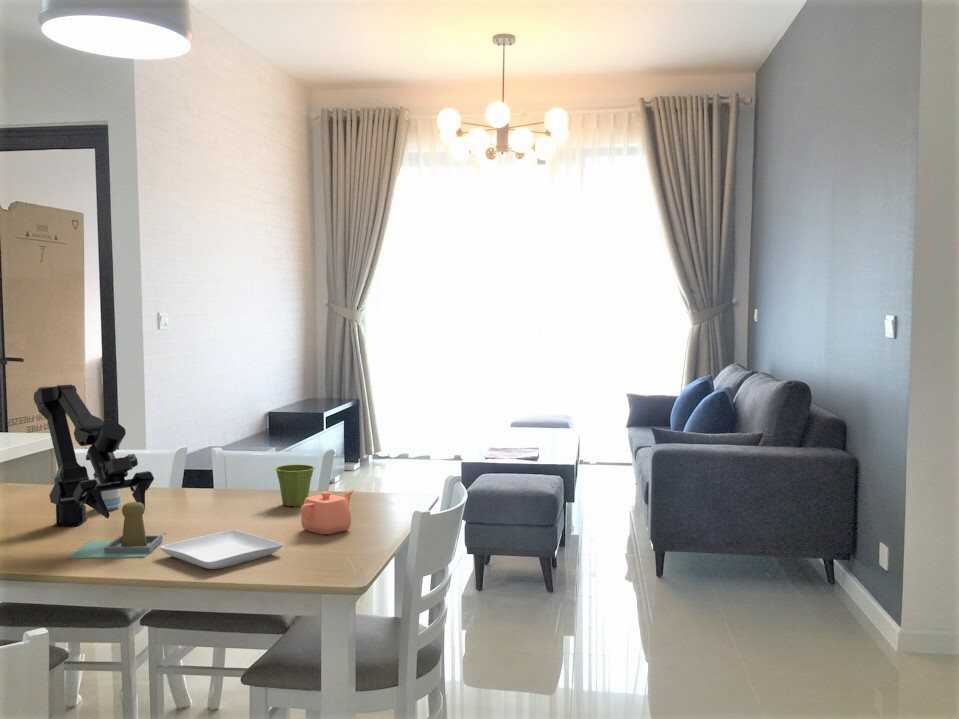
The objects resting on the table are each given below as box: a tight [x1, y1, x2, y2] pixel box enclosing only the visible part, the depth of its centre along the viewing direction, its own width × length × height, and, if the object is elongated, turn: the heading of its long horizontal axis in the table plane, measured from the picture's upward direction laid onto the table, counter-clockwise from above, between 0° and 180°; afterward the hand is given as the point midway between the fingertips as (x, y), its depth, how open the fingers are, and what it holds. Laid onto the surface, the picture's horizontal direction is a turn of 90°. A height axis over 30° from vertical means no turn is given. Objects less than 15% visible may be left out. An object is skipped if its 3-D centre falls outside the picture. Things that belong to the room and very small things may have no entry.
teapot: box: [299, 489, 355, 536], centre depth 230 cm, size 12×18×10 cm, turn 139°
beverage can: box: [93, 477, 121, 511], centre depth 251 cm, size 7×7×12 cm
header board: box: [66, 534, 164, 559], centre depth 210 cm, size 18×14×2 cm
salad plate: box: [159, 529, 284, 570], centre depth 205 cm, size 21×21×3 cm
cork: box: [121, 501, 147, 547], centre depth 211 cm, size 6×6×11 cm
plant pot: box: [274, 464, 316, 507], centre depth 258 cm, size 12×12×11 cm
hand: (126, 513), depth 214 cm, fingers open, 9 cm apart
